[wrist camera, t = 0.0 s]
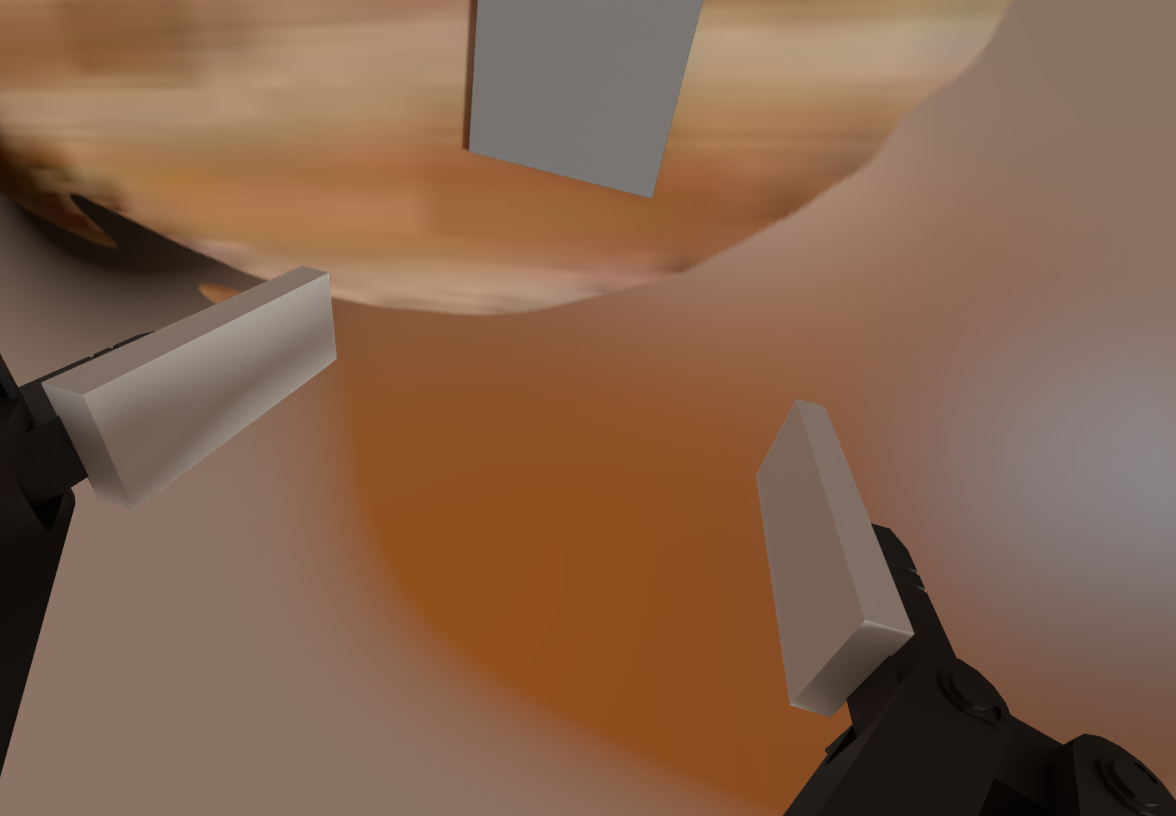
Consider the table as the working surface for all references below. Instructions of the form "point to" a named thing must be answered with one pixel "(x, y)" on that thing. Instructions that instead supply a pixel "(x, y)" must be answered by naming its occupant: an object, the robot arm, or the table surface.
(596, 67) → the mat
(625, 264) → the table surface
